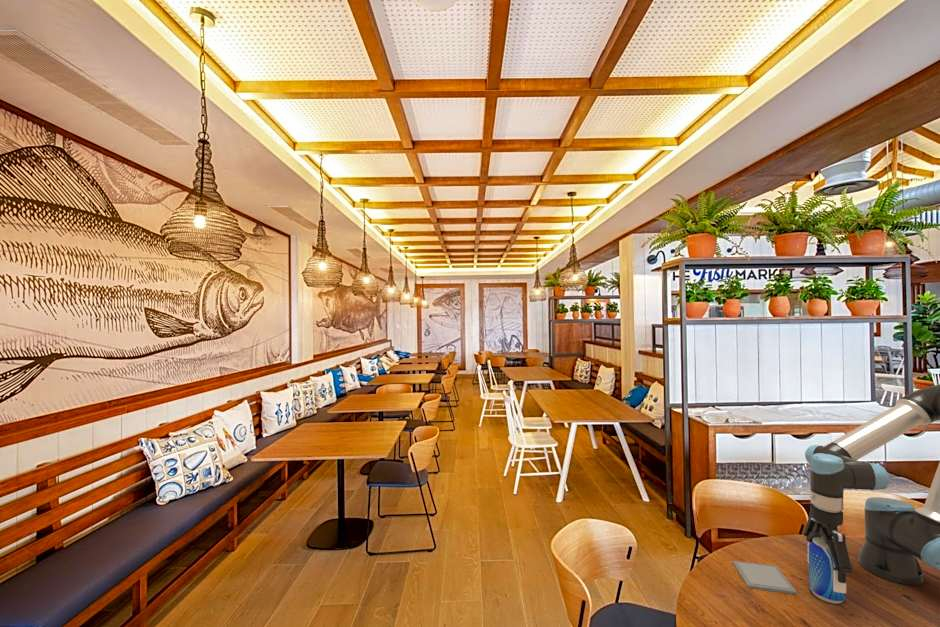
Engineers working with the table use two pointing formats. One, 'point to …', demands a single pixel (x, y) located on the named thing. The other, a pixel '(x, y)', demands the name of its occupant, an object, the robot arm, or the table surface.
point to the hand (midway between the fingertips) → (825, 577)
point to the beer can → (822, 572)
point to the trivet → (764, 577)
